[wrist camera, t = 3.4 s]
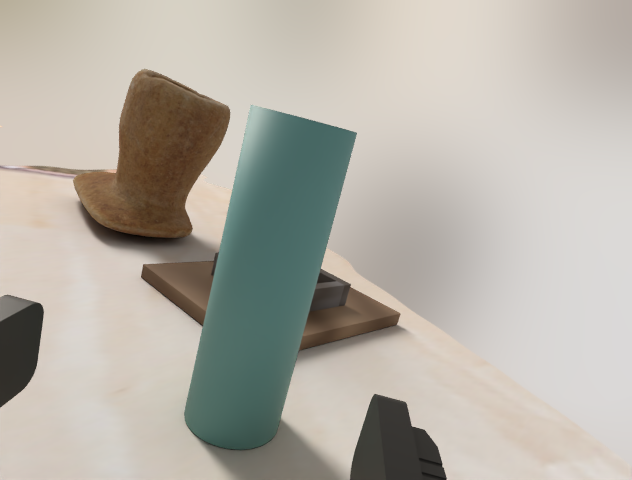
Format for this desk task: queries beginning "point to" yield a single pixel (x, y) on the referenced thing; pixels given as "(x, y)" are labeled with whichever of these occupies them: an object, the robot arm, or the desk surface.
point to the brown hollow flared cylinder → (155, 158)
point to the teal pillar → (265, 275)
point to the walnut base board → (324, 315)
